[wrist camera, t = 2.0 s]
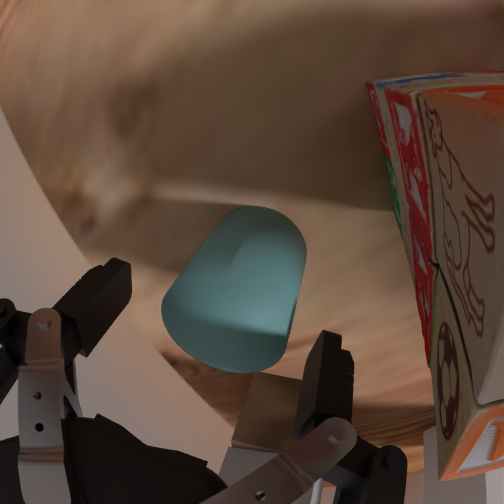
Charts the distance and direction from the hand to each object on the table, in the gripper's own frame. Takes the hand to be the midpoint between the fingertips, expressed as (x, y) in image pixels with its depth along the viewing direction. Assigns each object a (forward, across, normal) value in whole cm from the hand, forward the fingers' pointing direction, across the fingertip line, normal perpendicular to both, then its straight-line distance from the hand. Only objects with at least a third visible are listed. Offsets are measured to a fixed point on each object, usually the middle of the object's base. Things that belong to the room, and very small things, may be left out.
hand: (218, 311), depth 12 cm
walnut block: (+5, -7, +13) cm, 16 cm away
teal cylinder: (+5, 0, 0) cm, 5 cm away
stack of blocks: (+5, -14, -12) cm, 19 cm away
